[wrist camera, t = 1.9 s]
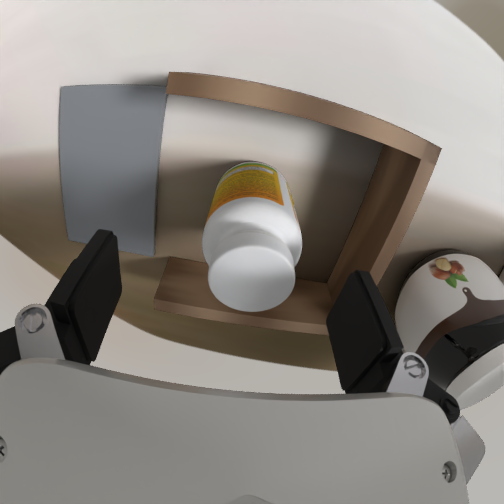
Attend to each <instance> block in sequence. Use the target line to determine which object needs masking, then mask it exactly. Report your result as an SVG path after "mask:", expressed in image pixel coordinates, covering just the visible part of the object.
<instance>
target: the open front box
mask: <svg viewBox="0 0 504 504" xmlns="http://www.w3.org/2000/svg"><path fill="white" fill-rule="evenodd" d="M166 94H174V95H184V96H193V97H201V98H208V99H215V100H222V101H228V102H234V103H239V104H245V105H250V106H255V107H260V108H265V109H269V110H274V111H278V112H283V113H287V114H291V115H295V116H299V117H303V118H306V119H310V120H314V121H317V122H321V123H324V124H327V125H331V126H334V127H337V128H340V129H344V130H347V131H350V132H353V133H356V134H359V135H362V136H364V137H367V138H370V139H373V140H375V141H378V142H381V143H383V144H384V146H383V149H382V151H381V154H380V157H379V160H378V163H377V165H376V168H375V171H374V174H373V176H372V179H371V182H370V184H369V187H368V189H367V192H366V194H365V197H364V200H363V202H362V205H361V207H360V209H359V212H358V214H357V217H356V219H355V222H354V224H353V226H352V229H351V231H350V233H349V236H348V238H347V240H346V243H345V245H344V247H343V249H342V252H341V254H340V256H339V258H338V261H337V263H336V265H335V267H334V269H333V271H332V274H331V276H330V278H329V280H328V282H327V283H321V282H315V281H308V280H302V279H296V278H295V284H294V288H293V290H292V292H291V294H290V295H289V296H288V298H287V299H286V300H285V301H283V302H282V303H281V304H279V305H277V306H276V307H273V308H271V309H268V310H264V311H258V312H247V311H240V310H236V309H233V308H230V307H228V306H226V305H225V304H223V303H222V302H220V301H219V300H218V299H217V298H216V297H215V296H214V294H213V293H212V291H211V289H210V287H209V283H208V271H209V265H208V264H207V263H202V262H197V261H191V260H186V259H180V258H175V257H170V258H169V261H168V263H167V266H166V268H165V271H164V273H163V276H162V279H161V281H160V284H159V287H158V289H157V292H156V295H155V297H154V309H155V310H160V311H165V312H170V313H175V314H180V315H186V316H191V317H197V318H202V319H208V320H214V321H220V322H226V323H233V324H239V325H246V326H253V327H260V328H268V329H276V330H284V331H292V332H301V333H311V334H321V335H329V333H328V329H327V326H326V319H327V316H328V314H329V312H330V310H331V309H332V307H333V305H334V303H335V301H336V299H337V298H338V296H339V294H340V292H341V290H342V288H343V286H344V284H345V282H346V280H347V278H348V276H349V275H350V273H353V272H354V271H355V270H361V271H368V272H369V273H370V274H371V276H372V278H373V280H374V282H375V284H376V286H377V285H378V283H379V281H380V280H381V278H382V276H383V274H384V272H385V271H386V269H387V267H388V265H389V263H390V262H391V260H392V258H393V256H394V254H395V252H396V250H397V248H398V247H399V245H400V243H401V241H402V239H403V237H404V235H405V233H406V231H407V229H408V227H409V225H410V222H411V220H412V218H413V216H414V214H415V212H416V210H417V208H418V205H419V203H420V201H421V199H422V196H423V194H424V192H425V189H426V187H427V185H428V182H429V180H430V177H431V175H432V173H433V170H434V168H435V165H436V162H437V160H438V157H439V154H440V152H441V149H442V148H440V147H438V146H436V145H434V144H433V143H431V142H429V141H427V140H425V139H423V138H421V137H419V136H417V135H415V134H413V133H411V132H409V131H407V130H405V129H403V128H401V127H398V126H396V125H394V124H391V123H389V122H386V121H384V120H381V119H379V118H376V117H374V116H371V115H369V114H366V113H363V112H361V111H358V110H355V109H352V108H349V107H346V106H343V105H340V104H337V103H334V102H331V101H328V100H325V99H321V98H318V97H314V96H311V95H307V94H304V93H300V92H296V91H292V90H288V89H284V88H280V87H276V86H271V85H267V84H262V83H257V82H252V81H247V80H241V79H235V78H229V77H222V76H215V75H208V74H200V73H189V72H169V76H168V82H167V89H166Z"/></svg>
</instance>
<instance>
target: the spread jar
mask: <svg viewBox="0 0 504 504" xmlns="http://www.w3.org/2000/svg"><path fill="white" fill-rule="evenodd" d="M395 322H396V328H397V332H398V334H399V336H400V339H401V341H402V344H403V346H404V348H403V349H402V352H403V354H404V353H406V352H413V353H416V354H418V355H419V356H420V357H422V358H423V359H424V361H425V362H426V364H427V366H428V369H429V375H428V378H429V379H430V380H431V381H433V382H434V383H435V384H437V385H438V386H439V387H441V388H442V389H444V390H445V391H446V392H448V393H449V394H450V395H452V396H453V397H454V398H455V399H456V401H457V402H458V405H459V408H460V410H462V409H465V408H467V407H470V406H472V405H474V404H476V403H478V402H480V401H482V400H483V399H485V398H487V397H488V396H490V395H491V394H492V393H494V392H495V391H497V390H498V389H499V388H500V387H502V386H503V385H504V285H503V283H502V282H501V281H500V279H499V278H498V277H497V275H496V274H495V273H494V272H493V271H492V270H491V269H490V268H489V267H488V266H487V265H486V264H485V263H484V262H483V261H481V260H480V259H478V258H476V257H474V256H472V255H470V254H467V253H464V252H460V251H455V250H444V251H439V252H436V253H434V254H432V255H430V256H428V257H426V258H425V259H423V260H422V261H421V262H419V263H418V264H417V265H416V266H415V267H414V268H413V269H412V270H411V272H410V273H409V274H408V276H407V277H406V279H405V281H404V283H403V285H402V287H401V289H400V292H399V295H398V298H397V303H396V310H395Z"/></svg>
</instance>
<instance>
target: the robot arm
mask: <svg viewBox="0 0 504 504" xmlns="http://www.w3.org/2000/svg"><path fill="white" fill-rule="evenodd" d="M499 279H500V281H501V282H502V283H503V285H504V269H503V271H502V272H501V274H500V276H499ZM121 292H122V284H121V275H120V265H119V254H118V240H117V236H116V235H114V234H113V231H110V230H103V229H98V230H97V231H96V233H95V234H94V235H93V237H92V238H91V239H90V241H89V242H88V244H87V245H86V246H85V248H84V249H83V251H82V252H81V253H80V255H79V256H78V258H77V259H74V261H73V262H72V263H71V264H70V266H69V267H68V269H67V270H66V272H65V273H64V275H63V276H62V278H61V280H60V281H59V283H58V285H57V286H56V288H55V289H54V291H53V292H52V294H51V296H50V297H49V299H48V301H47V302H46V304H45V306H43V305H41V304H31V305H28V306H26V307H24V308H23V309H22V310H21V311H20V312H19V313H18V315H17V316H16V319H15V326H14V327H12V328H10V329H7V330H5V331H3V332H0V504H469V499H468V492H467V486H466V485H467V483H468V481H469V480H470V479H471V477H472V475H473V474H474V472H475V470H476V469H477V467H478V465H479V464H480V462H481V460H482V458H483V456H484V454H485V445H484V442H483V440H482V439H481V438H480V436H479V435H478V434H477V433H476V431H475V430H474V429H473V428H472V426H471V425H470V424H469V423H468V421H467V420H466V419H465V418H464V416H461V417H459V415H460V408H459V405H458V402H457V401H456V399H455V398H454V397H453V396H452V395H450V394H449V393H448V392H446V391H445V390H444V389H442V388H441V387H439V386H438V385H437V384H435V383H434V382H433V381H431V380H430V379H429V378H428V375H429V369H428V366H427V364H426V362H425V361H424V359H423V358H422V357H420V356H419V355H418V354H416V353H413V352H406V353H404V354H403V352H402V349H403V348H404V346H403V344H402V341H401V339H400V336H399V334H398V332H397V330H396V327H395V325H394V323H393V320H392V318H391V316H390V314H389V312H388V309H387V307H386V305H385V303H384V301H383V299H382V297H381V295H380V292H379V290H378V288H377V286H376V284H375V282H374V280H373V278H372V276H371V274H370V273H369V272H368V271H361V270H355V271H354V272H353V273H350V275H349V276H348V278H347V280H346V282H345V284H344V286H343V288H342V290H341V292H340V294H339V296H338V298H337V299H336V301H335V303H334V305H333V307H332V309H331V310H330V312H329V314H328V316H327V319H326V326H327V329H328V333H329V337H330V341H331V345H332V349H333V353H334V358H335V362H336V366H337V370H338V374H339V379H340V383H341V387H342V389H343V390H345V393H346V394H320V395H319V394H316V395H315V394H313V395H309V394H273V393H254V392H242V391H231V390H221V389H212V388H204V387H196V386H189V385H183V384H176V383H170V382H164V381H159V380H153V379H148V378H143V377H138V376H133V375H129V374H124V373H120V372H115V371H111V370H106V369H102V368H98V367H94V366H90V363H91V361H95V360H96V357H97V354H98V352H99V349H100V346H101V343H102V341H103V338H104V335H105V333H106V330H107V328H108V325H109V322H110V320H111V318H112V315H113V313H114V310H115V308H116V305H117V303H118V301H119V298H120V296H121Z"/></svg>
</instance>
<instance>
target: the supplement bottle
mask: <svg viewBox="0 0 504 504" xmlns="http://www.w3.org/2000/svg"><path fill="white" fill-rule="evenodd" d="M202 249H203V254H204V257H205V260H206V262H207V264H208V265H209V271H208V283H209V287H210V289H211V291H212V293H213V294H214V296H215V297H216V298H217V299H218V300H219V301H220V302H222V303H223V304H225V305H226V306H228V307H230V308H233V309H236V310H240V311H247V312H258V311H264V310H268V309H271V308H273V307H276V306H277V305H279V304H281V303H282V302H283V301H285V300H286V299H287V298H288V296H289V295H290V294H291V292H292V290H293V288H294V284H295V270H294V267H295V266H296V264H297V262H298V260H299V258H300V255H301V251H302V236H301V230H300V226H299V222H298V219H297V215H296V211H295V207H294V204H293V200H292V196H291V192H290V189H289V186H288V184H287V182H286V180H285V178H284V177H283V176H282V174H281V173H280V172H279V171H277V170H276V169H275V168H273V167H272V166H269V165H267V164H264V163H260V162H244V163H241V164H238V165H236V166H234V167H232V168H231V169H229V170H228V171H227V172H226V173H225V174H224V175H223V176H222V177H221V179H220V181H219V183H218V185H217V187H216V191H215V194H214V197H213V201H212V204H211V208H210V211H209V214H208V217H207V221H206V224H205V228H204V231H203V237H202Z"/></svg>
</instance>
